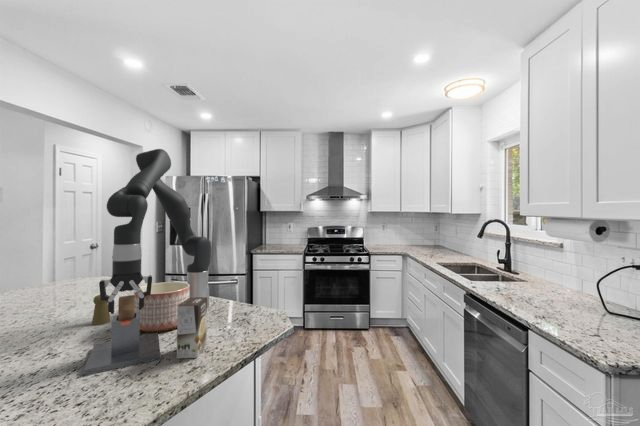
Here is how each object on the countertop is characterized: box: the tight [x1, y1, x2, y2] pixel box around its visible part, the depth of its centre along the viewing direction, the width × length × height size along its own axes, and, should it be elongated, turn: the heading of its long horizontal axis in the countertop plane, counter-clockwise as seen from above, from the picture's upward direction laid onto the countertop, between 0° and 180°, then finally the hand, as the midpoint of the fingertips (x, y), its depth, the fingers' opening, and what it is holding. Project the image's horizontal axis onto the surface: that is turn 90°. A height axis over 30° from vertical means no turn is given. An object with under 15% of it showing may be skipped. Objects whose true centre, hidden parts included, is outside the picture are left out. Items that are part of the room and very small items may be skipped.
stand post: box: [117, 294, 135, 320], centre depth 89 cm, size 4×4×16 cm
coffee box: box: [176, 297, 208, 359], centre depth 91 cm, size 9×6×16 cm
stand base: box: [83, 312, 161, 376], centre depth 89 cm, size 18×18×12 cm
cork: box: [91, 294, 112, 326], centre depth 115 cm, size 6×6×11 cm
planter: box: [133, 281, 190, 333], centre depth 113 cm, size 19×19×15 cm
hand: (126, 311), depth 89 cm, fingers open, 6 cm apart
